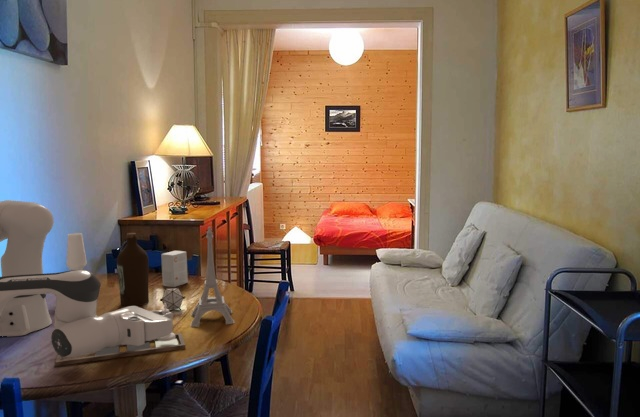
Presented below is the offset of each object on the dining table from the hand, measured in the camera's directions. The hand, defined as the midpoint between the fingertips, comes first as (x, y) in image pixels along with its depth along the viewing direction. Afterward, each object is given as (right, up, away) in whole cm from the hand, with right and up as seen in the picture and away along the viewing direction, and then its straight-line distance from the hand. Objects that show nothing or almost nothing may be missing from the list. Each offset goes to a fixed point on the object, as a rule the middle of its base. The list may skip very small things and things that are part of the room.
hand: (168, 313), depth 147 cm
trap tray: (-11, -9, -3) cm, 15 cm away
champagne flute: (-46, -4, +46) cm, 65 cm away
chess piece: (-1, -7, 0) cm, 7 cm away
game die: (-8, -5, +32) cm, 33 cm away
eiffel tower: (+8, -6, +23) cm, 25 cm away
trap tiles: (-11, -9, -3) cm, 15 cm away
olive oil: (-24, -4, +41) cm, 47 cm away
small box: (-16, -1, +66) cm, 68 cm away
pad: (-1, -9, +1) cm, 9 cm away
